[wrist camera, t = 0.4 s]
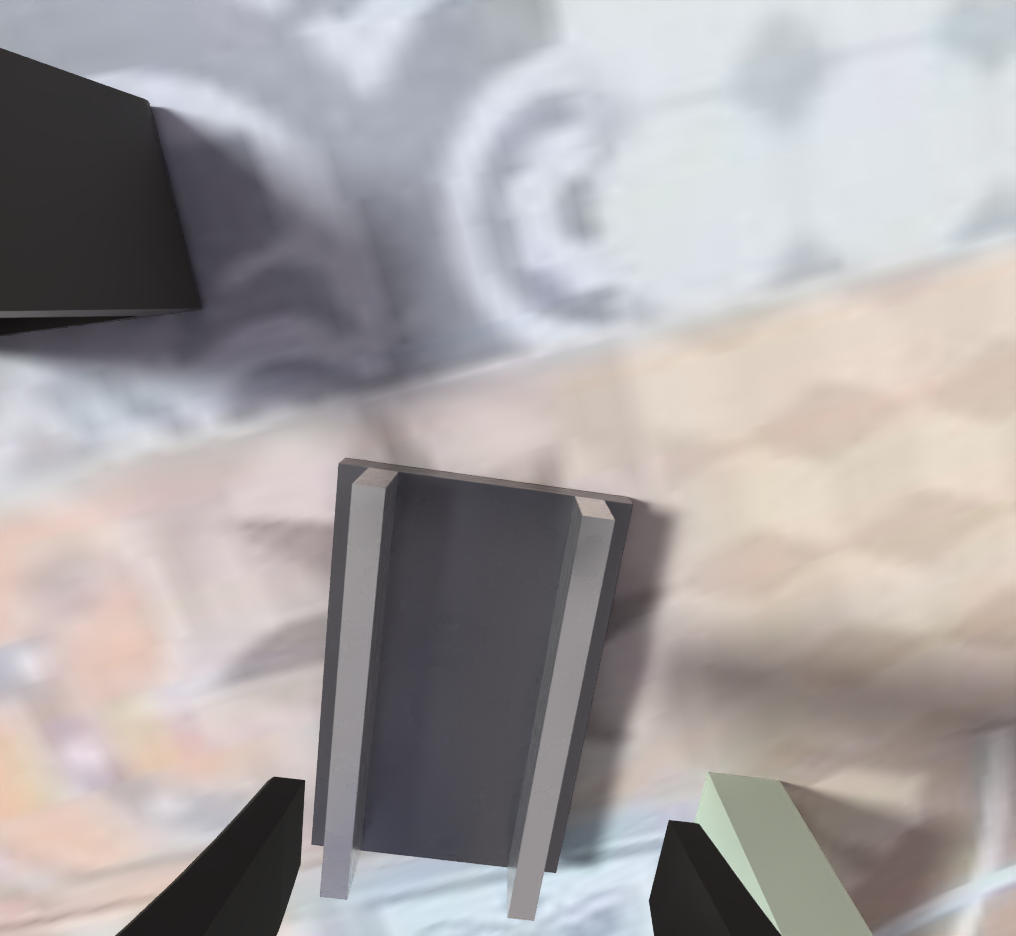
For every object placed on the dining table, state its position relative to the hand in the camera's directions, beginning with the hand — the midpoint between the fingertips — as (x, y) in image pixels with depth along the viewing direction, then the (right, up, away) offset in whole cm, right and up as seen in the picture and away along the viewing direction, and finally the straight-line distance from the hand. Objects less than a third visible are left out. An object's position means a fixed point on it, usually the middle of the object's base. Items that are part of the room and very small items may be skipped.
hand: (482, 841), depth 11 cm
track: (-1, -1, +11) cm, 11 cm away
